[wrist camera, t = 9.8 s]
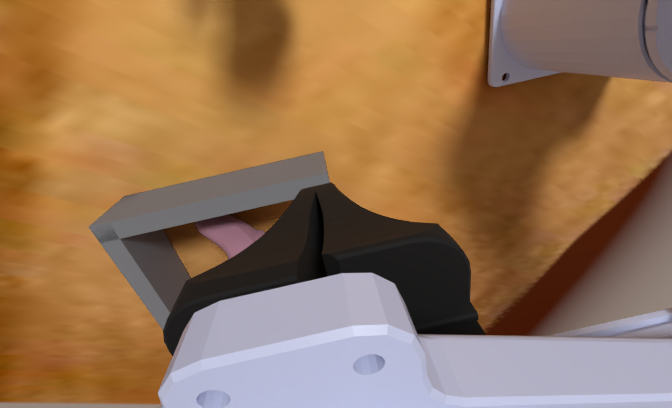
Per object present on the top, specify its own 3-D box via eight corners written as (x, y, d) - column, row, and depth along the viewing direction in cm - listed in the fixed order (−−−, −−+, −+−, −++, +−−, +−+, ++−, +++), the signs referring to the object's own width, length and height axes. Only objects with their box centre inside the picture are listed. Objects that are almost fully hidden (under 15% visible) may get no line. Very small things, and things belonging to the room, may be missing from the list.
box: (322, 151, 21) (327, 172, 17) (365, 338, 30) (374, 376, 27) (124, 196, 21) (88, 226, 17) (230, 368, 30) (221, 410, 27)
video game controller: (255, 291, 28) (286, 349, 23) (204, 308, 26) (226, 377, 21) (253, 198, 24) (291, 245, 19) (191, 208, 21) (215, 266, 16)
